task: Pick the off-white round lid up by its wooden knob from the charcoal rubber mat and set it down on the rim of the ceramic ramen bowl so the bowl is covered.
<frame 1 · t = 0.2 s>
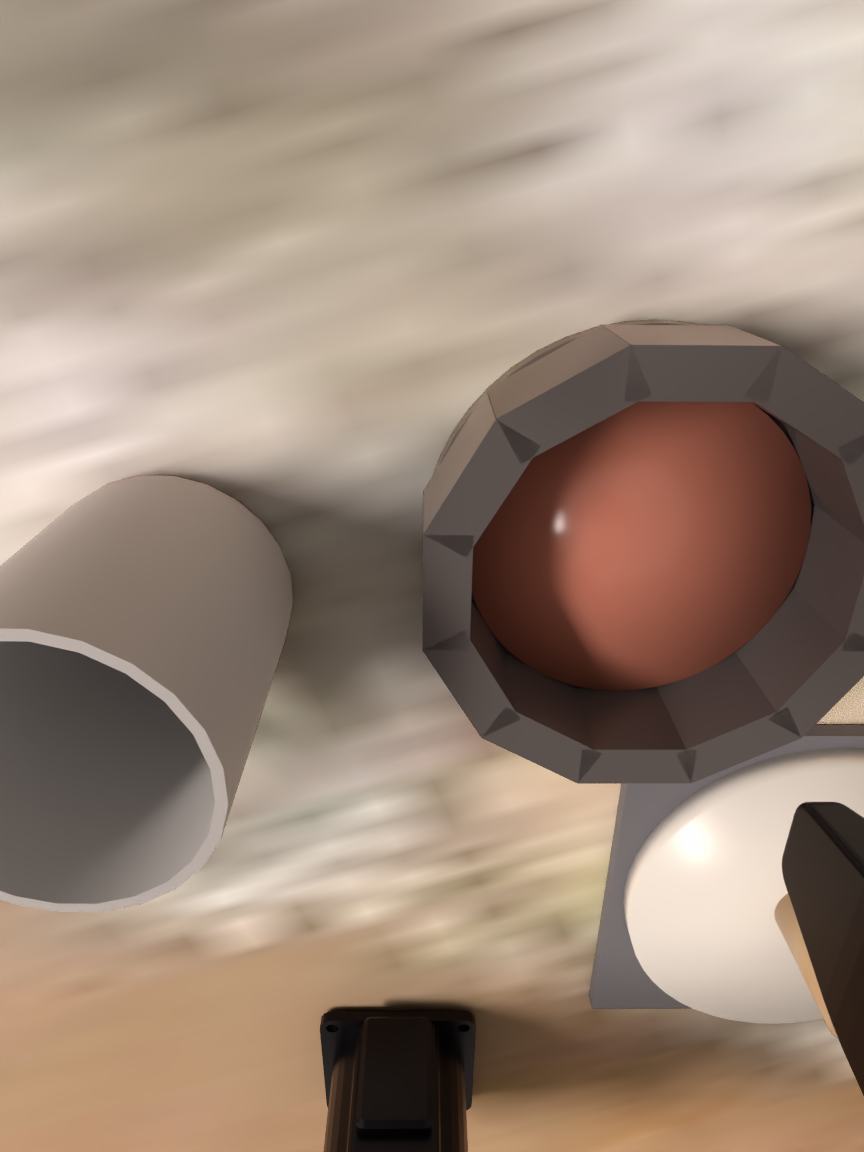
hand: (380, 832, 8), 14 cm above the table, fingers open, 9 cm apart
cup: (168, 615, 24), on the table
mat: (791, 874, 28), on the table
lid: (798, 886, 28), point 1 cm above the table, touching mat
bowl: (626, 532, 22), on the table
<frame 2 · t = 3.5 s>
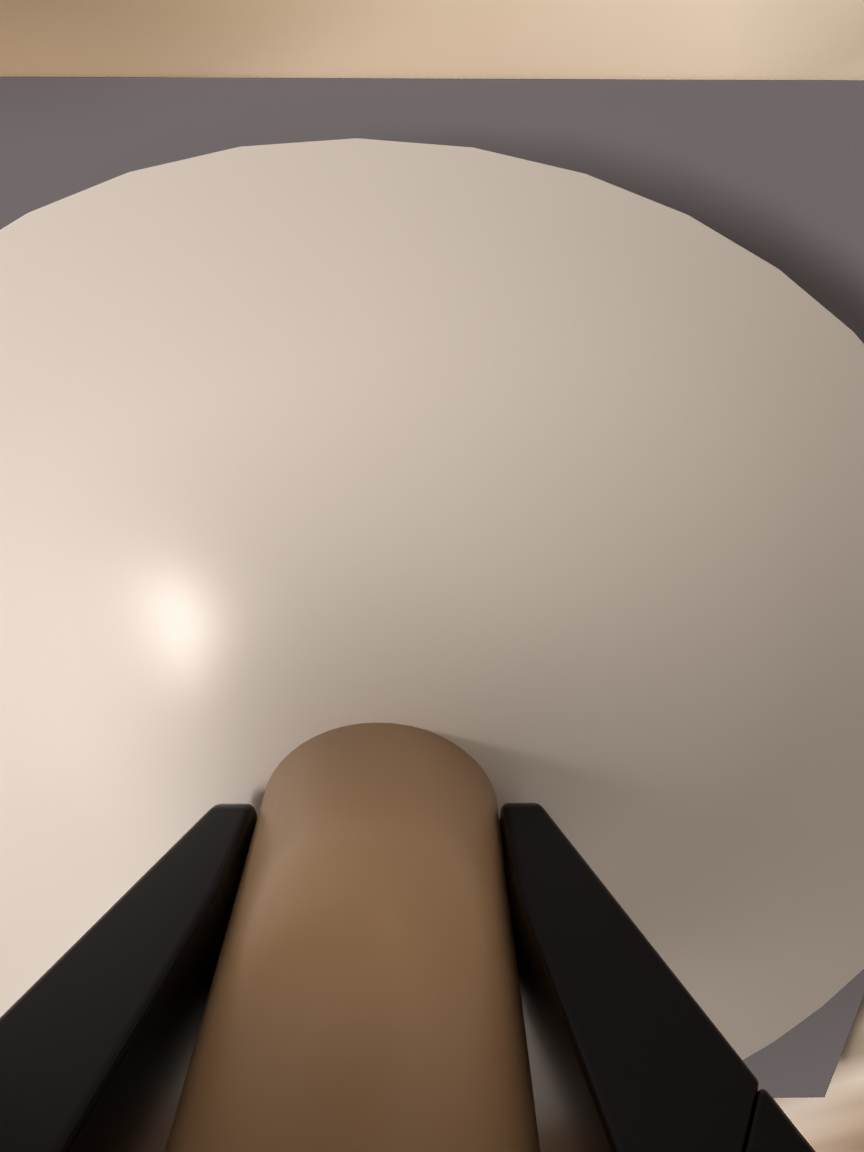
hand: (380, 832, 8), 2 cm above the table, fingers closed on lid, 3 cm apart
mat: (388, 728, 10), on the table
lid: (385, 759, 9), point 1 cm above the table, touching gripper, mat
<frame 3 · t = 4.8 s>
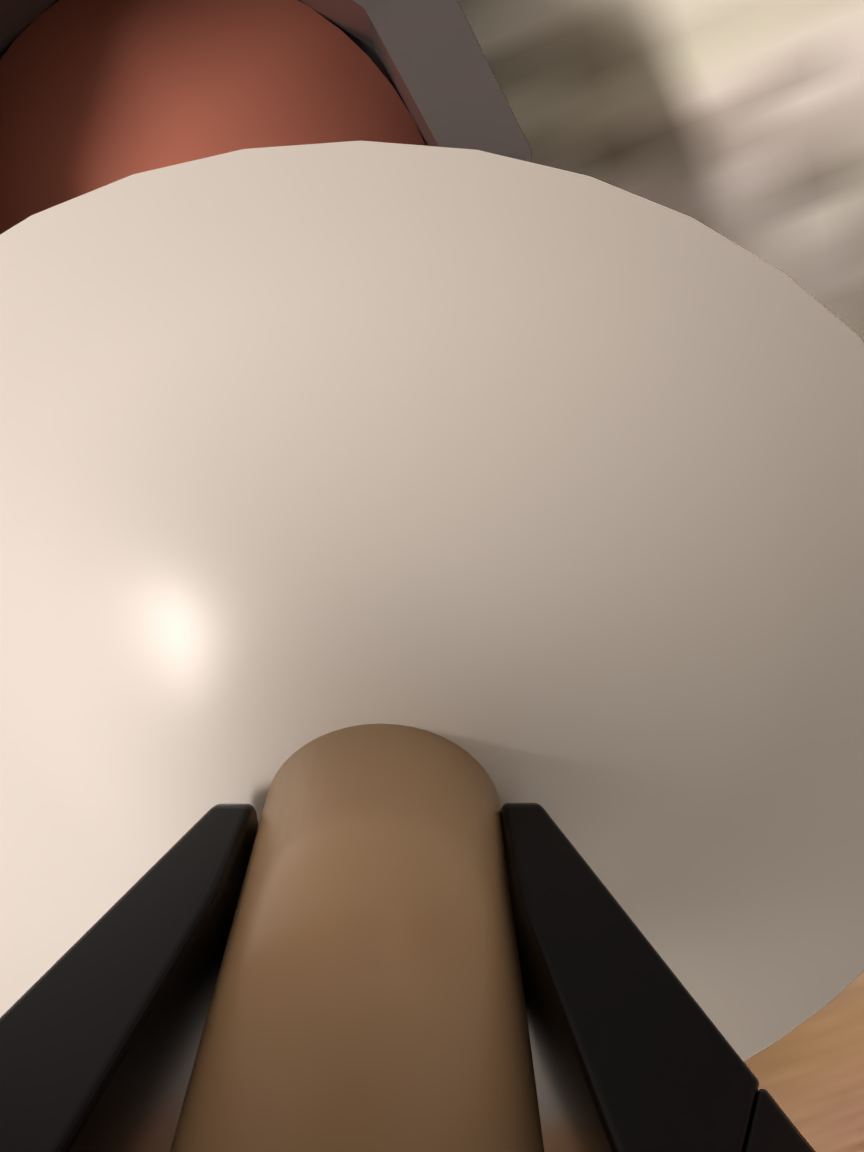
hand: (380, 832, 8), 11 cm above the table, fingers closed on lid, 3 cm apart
lid: (387, 759, 9), point 10 cm above the table, touching gripper
bowl: (224, 263, 16), on the table
when the fingers open (6 cm above the table, at t = 6.6 s): lid drops 1 cm, resting on bowl.
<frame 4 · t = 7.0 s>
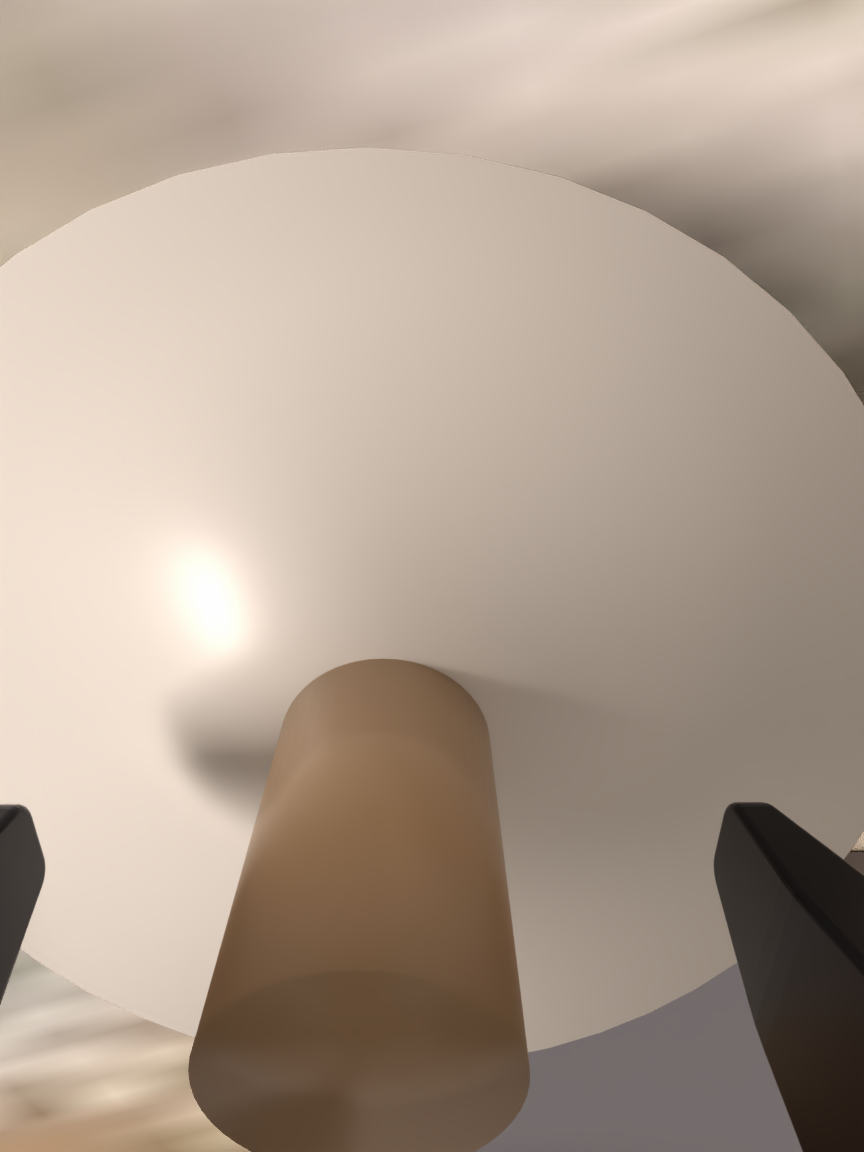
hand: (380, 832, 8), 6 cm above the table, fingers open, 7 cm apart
mat: (707, 1046, 20), on the table
lid: (388, 700, 10), point 4 cm above the table, touching bowl
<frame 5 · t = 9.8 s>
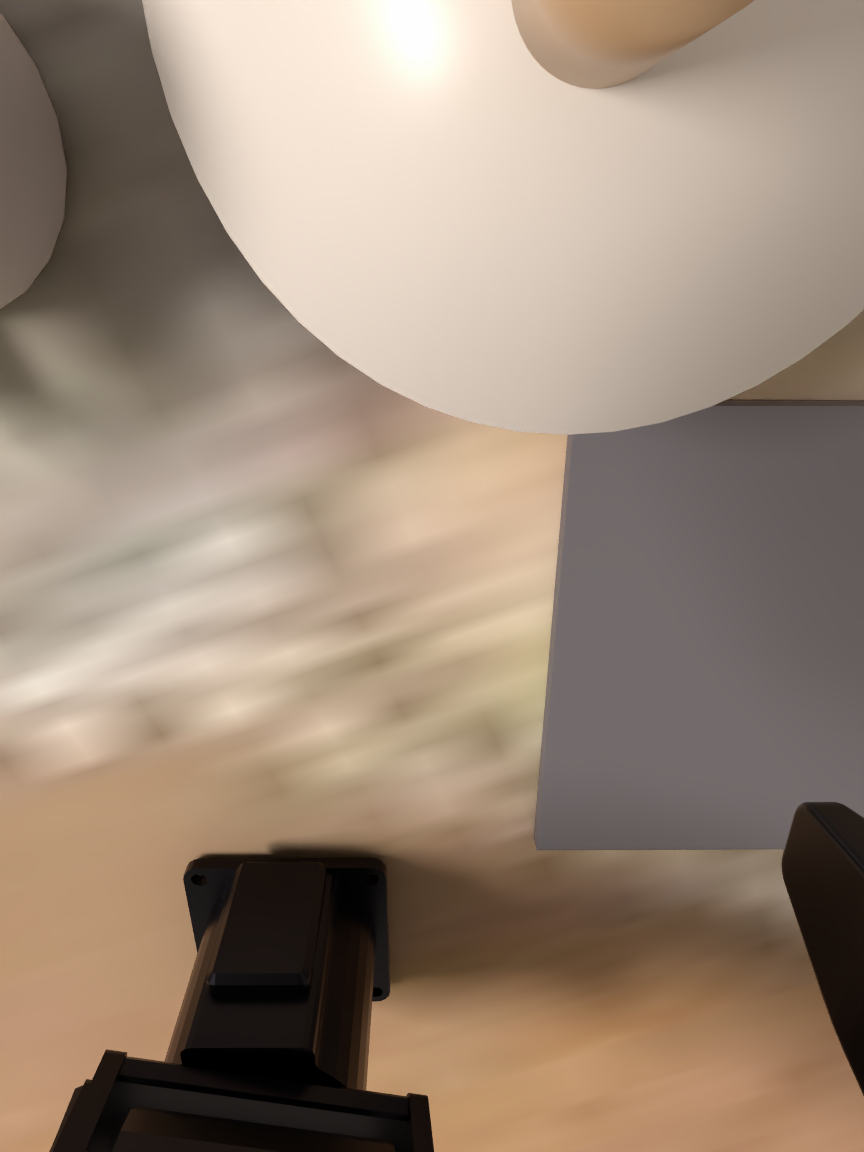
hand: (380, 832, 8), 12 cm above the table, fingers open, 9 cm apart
mat: (797, 649, 21), on the table
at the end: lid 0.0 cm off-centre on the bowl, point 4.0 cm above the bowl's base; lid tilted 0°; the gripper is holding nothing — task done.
